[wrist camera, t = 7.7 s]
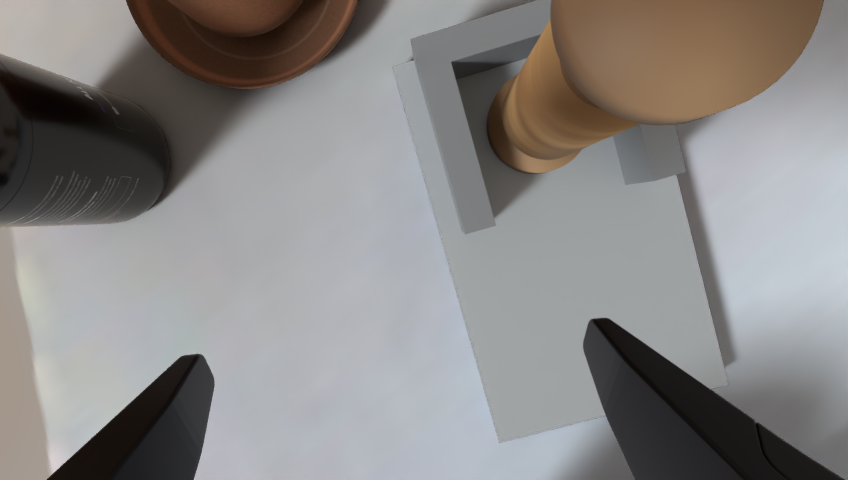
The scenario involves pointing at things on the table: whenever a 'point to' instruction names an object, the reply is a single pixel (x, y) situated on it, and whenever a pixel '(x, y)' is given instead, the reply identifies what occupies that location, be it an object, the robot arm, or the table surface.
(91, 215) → the supplement bottle
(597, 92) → the bobbin
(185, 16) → the cup and saucer
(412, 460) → the table surface
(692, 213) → the table surface
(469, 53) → the board
